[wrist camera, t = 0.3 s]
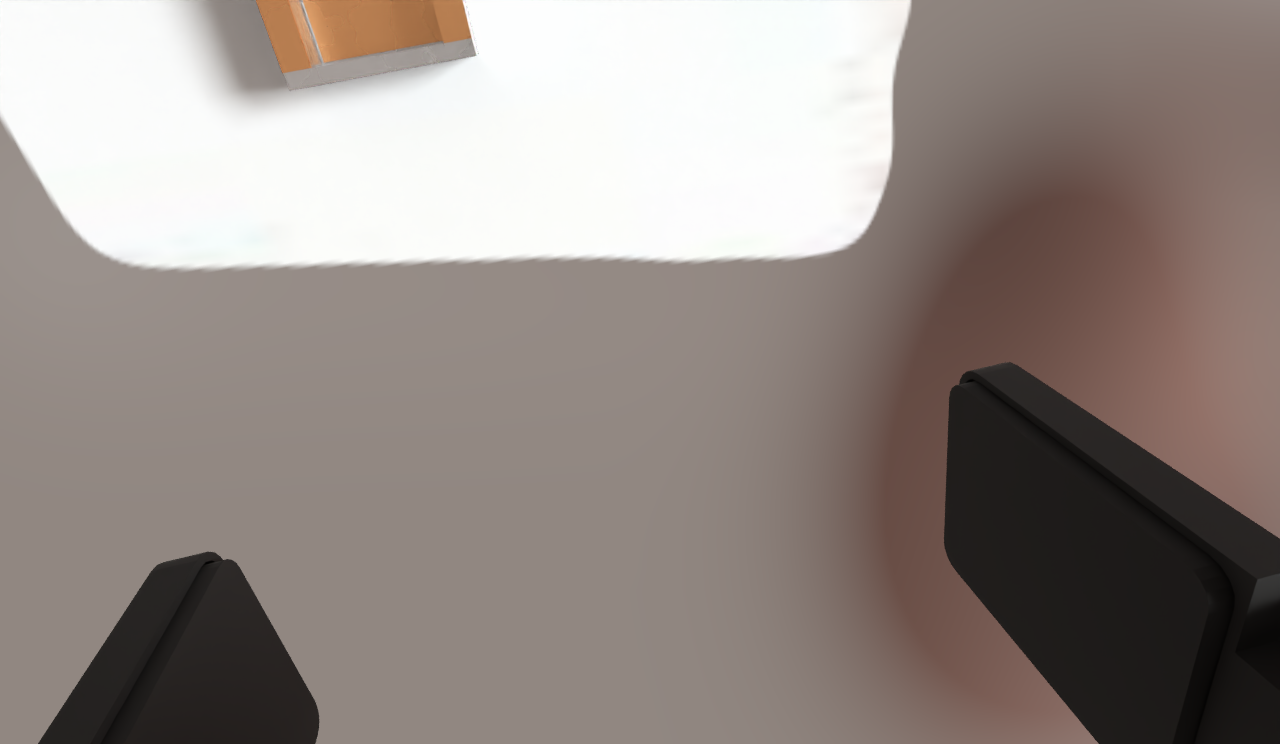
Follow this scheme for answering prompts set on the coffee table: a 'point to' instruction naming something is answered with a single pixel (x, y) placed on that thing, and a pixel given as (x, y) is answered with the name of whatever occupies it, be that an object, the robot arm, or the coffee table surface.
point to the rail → (364, 36)
